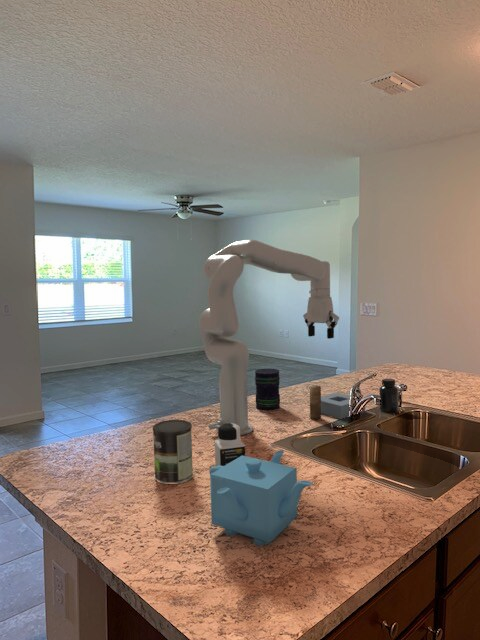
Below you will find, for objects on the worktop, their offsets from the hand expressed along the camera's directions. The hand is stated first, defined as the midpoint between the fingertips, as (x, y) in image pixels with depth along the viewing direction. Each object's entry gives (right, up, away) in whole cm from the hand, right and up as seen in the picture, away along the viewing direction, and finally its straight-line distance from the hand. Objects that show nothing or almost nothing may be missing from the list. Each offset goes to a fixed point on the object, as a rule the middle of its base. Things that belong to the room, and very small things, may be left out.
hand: (320, 337), depth 184 cm
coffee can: (-49, -36, -58) cm, 84 cm away
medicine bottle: (-34, -35, -52) cm, 72 cm away
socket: (+6, -29, -3) cm, 29 cm away
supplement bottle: (+26, -28, -3) cm, 38 cm away
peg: (-4, -30, -11) cm, 32 cm away
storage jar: (-20, -29, +5) cm, 36 cm away
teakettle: (-28, -38, -85) cm, 97 cm away
